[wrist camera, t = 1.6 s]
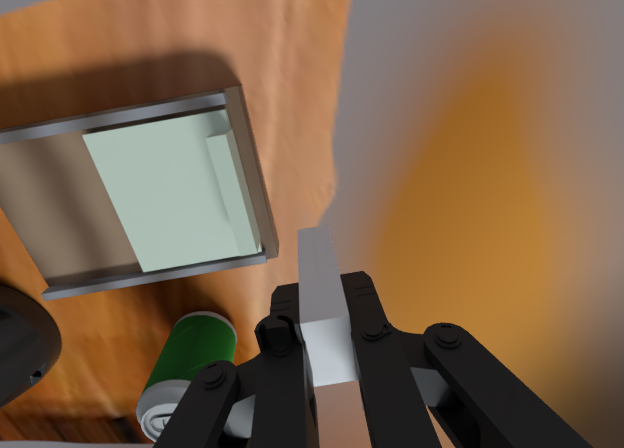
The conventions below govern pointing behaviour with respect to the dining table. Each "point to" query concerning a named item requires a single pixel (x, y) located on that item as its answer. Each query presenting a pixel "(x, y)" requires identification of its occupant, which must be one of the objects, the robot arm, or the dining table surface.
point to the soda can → (183, 365)
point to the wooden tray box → (107, 196)
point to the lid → (178, 189)
